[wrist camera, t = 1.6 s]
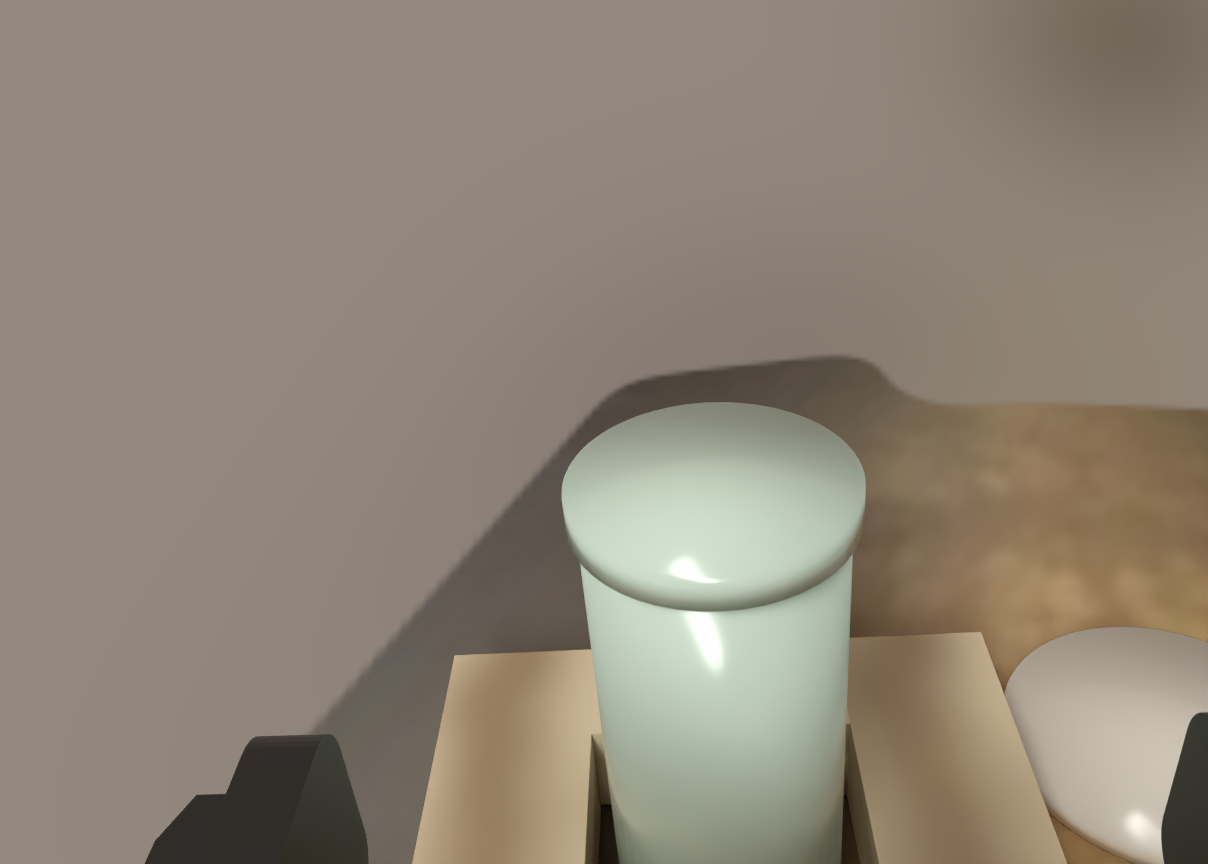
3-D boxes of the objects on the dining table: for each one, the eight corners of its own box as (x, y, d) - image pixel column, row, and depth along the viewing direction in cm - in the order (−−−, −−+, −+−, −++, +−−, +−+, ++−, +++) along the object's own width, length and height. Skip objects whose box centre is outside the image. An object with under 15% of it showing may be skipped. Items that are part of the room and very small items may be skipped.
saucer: (1249, 634, 36) (1253, 620, 36) (1410, 874, 29) (1417, 860, 28) (968, 646, 37) (970, 633, 37) (1052, 885, 29) (1056, 870, 29)
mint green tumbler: (821, 766, 33) (829, 356, 26) (864, 1019, 27) (892, 568, 19) (622, 773, 34) (574, 373, 26) (616, 1024, 27) (551, 585, 20)
